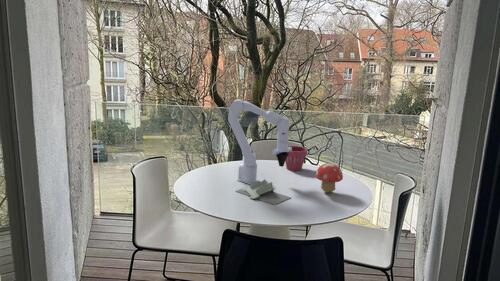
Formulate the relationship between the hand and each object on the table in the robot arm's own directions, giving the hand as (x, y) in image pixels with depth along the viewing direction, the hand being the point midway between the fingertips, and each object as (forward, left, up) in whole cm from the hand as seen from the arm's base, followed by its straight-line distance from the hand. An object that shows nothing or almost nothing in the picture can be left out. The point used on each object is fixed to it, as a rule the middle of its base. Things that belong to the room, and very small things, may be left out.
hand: (281, 166), depth 197 cm
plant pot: (-11, +28, -10) cm, 32 cm away
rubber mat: (+5, -20, -9) cm, 23 cm away
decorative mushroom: (+25, +6, -10) cm, 27 cm away
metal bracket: (+3, -20, -9) cm, 22 cm away
